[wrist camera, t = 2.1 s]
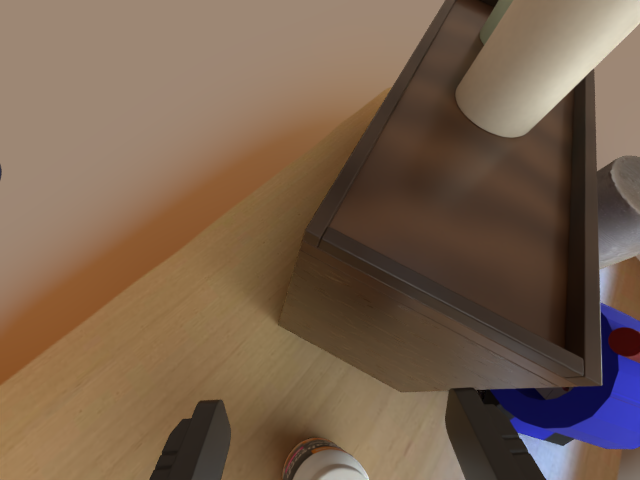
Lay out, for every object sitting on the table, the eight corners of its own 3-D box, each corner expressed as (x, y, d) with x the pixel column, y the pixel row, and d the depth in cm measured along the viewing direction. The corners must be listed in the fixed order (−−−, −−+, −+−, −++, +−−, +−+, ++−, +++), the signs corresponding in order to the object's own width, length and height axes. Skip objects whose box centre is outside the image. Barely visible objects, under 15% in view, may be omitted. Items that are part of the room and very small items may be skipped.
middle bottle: (498, 148, 20) (693, -52, 11) (438, 91, 22) (565, -122, 13) (546, 123, 22) (738, -58, 13) (488, 73, 24) (623, -117, 15)
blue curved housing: (470, 303, 36) (592, 250, 23) (565, 332, 36) (737, 296, 23) (471, 419, 30) (637, 436, 17) (584, 451, 30) (830, 493, 17)
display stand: (401, 392, 30) (602, 386, 12) (277, 324, 31) (304, 230, 13) (467, 170, 46) (593, 34, 29) (385, 130, 47) (461, -26, 30)
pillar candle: (566, 228, 45) (694, 158, 31) (583, 290, 40) (743, 238, 27) (506, 213, 44) (612, 135, 31) (516, 275, 39) (648, 213, 26)
